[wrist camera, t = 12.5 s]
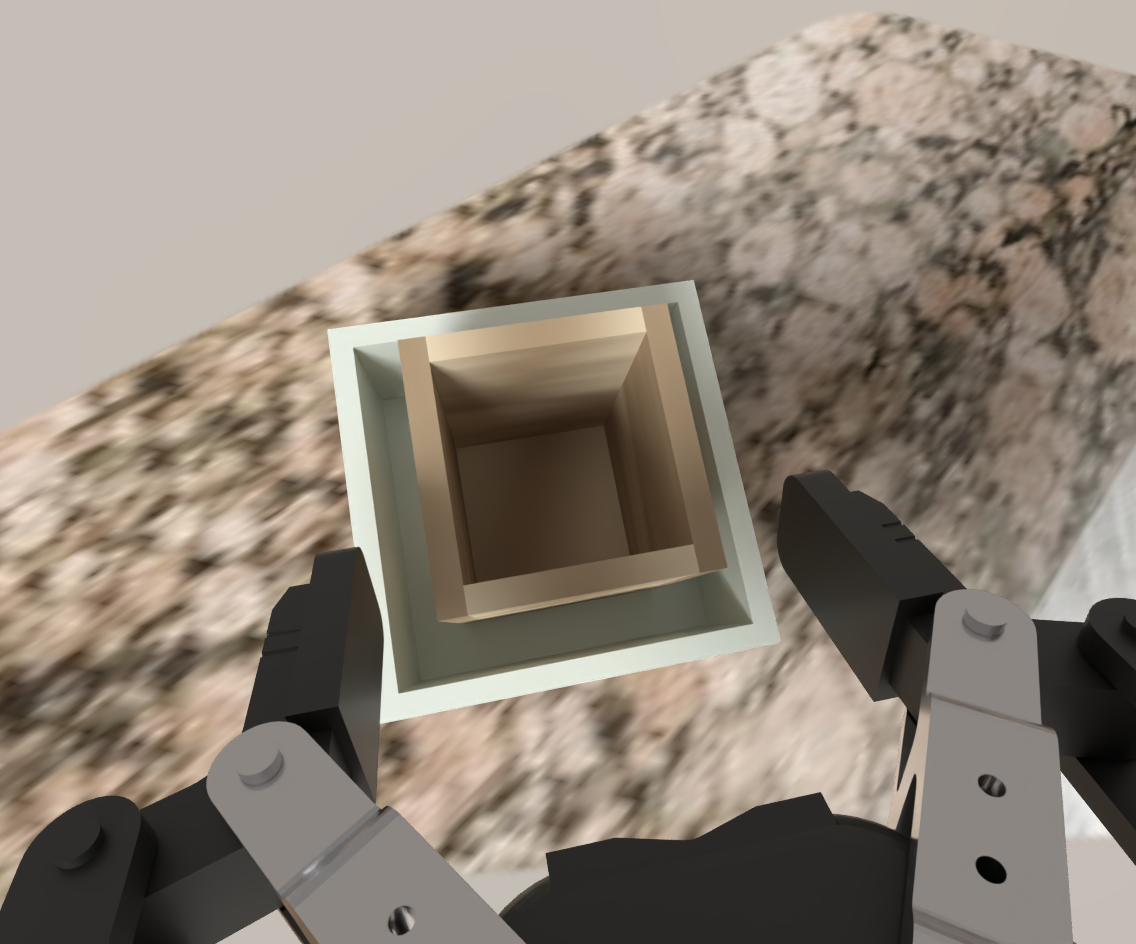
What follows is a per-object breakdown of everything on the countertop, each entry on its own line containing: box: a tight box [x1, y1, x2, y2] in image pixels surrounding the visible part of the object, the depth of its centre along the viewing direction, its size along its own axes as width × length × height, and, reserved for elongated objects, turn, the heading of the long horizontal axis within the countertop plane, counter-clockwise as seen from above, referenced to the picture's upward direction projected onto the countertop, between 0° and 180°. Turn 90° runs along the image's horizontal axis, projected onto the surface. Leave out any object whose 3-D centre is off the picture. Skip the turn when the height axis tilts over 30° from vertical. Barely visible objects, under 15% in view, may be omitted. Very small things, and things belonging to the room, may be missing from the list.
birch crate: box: [397, 303, 727, 624], centre depth 19 cm, size 6×6×8 cm
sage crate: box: [327, 280, 781, 724], centre depth 21 cm, size 10×10×5 cm
